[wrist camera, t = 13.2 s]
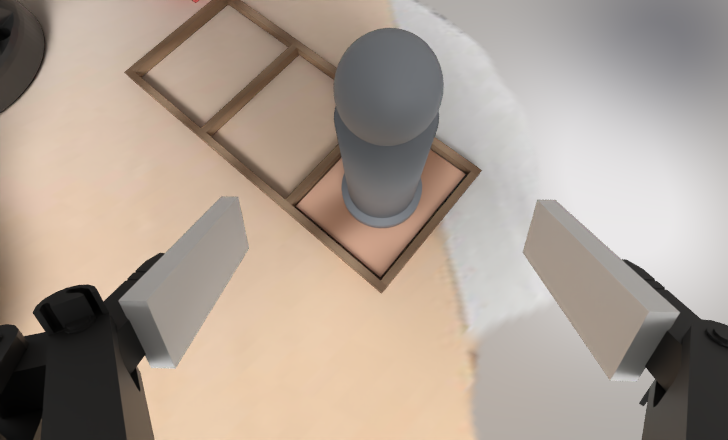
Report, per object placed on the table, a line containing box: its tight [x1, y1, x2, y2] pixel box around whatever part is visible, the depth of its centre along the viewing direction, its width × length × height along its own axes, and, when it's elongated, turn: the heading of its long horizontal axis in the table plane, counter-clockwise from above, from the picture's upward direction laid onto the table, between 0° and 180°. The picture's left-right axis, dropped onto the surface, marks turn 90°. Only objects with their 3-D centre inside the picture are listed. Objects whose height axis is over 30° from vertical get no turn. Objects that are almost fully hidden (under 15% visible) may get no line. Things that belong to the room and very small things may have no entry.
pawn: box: [334, 28, 443, 228], centre depth 18 cm, size 6×6×14 cm
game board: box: [125, 0, 482, 294], centre depth 27 cm, size 29×12×1 cm, turn 50°
